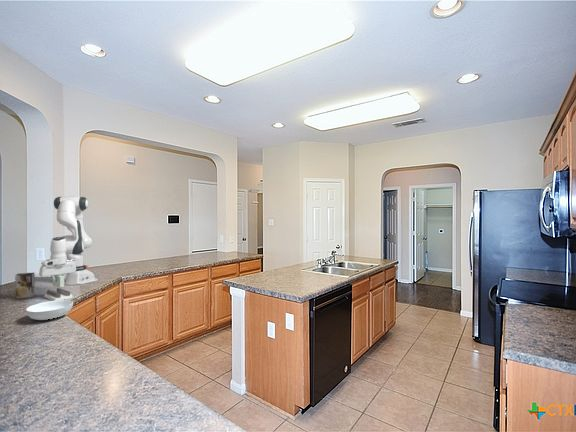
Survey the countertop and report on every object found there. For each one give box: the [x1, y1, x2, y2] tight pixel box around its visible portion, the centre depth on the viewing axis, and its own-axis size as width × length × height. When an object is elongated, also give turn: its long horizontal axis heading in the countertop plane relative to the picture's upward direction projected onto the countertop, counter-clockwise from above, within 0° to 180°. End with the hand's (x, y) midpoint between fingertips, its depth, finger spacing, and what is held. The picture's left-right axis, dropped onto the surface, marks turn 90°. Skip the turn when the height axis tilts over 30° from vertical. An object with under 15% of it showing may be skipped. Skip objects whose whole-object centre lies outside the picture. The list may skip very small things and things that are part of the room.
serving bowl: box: [25, 299, 74, 321], centre depth 167 cm, size 21×21×7 cm
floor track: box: [44, 287, 73, 301], centre depth 202 cm, size 10×17×4 cm, turn 58°
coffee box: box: [14, 272, 36, 300], centre depth 202 cm, size 9×6×16 cm
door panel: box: [51, 274, 65, 288], centre depth 201 cm, size 2×12×7 cm, turn 58°
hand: (58, 281), depth 201 cm, fingers closed on door panel, 2 cm apart
